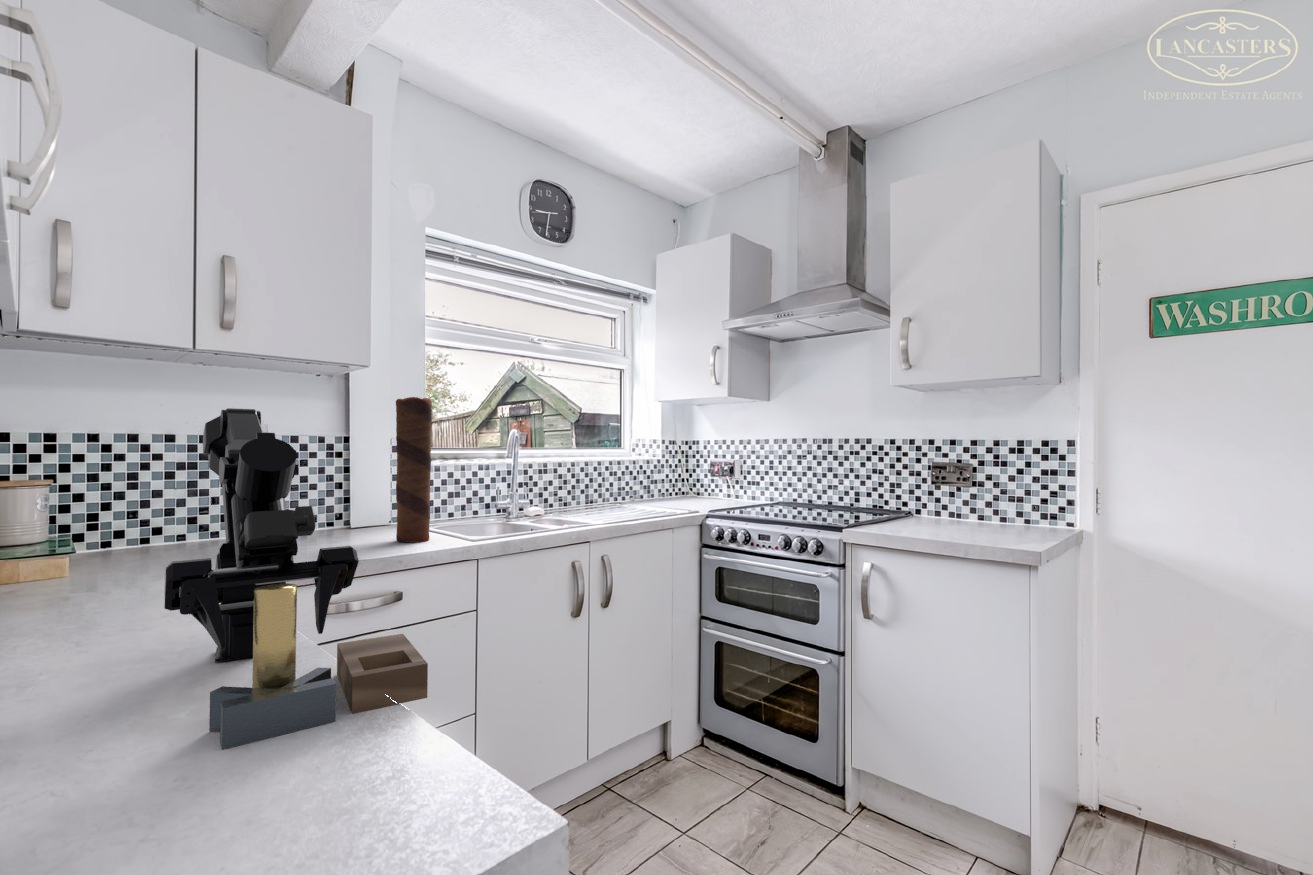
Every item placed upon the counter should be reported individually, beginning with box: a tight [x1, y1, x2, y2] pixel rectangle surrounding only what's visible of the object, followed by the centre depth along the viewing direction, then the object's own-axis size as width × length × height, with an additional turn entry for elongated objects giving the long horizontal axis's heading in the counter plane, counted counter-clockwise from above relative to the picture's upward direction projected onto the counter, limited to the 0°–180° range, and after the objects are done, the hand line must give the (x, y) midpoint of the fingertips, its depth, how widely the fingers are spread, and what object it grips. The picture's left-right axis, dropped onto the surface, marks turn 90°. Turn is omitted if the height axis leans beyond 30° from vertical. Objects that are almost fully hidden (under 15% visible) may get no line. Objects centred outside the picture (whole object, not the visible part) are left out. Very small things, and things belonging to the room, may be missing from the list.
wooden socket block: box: [336, 633, 429, 714], centre depth 77 cm, size 14×8×4 cm, turn 33°
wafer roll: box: [395, 396, 433, 543], centre depth 196 cm, size 10×11×45 cm
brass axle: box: [251, 583, 298, 689], centre depth 68 cm, size 4×4×14 cm
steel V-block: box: [208, 667, 337, 750], centre depth 66 cm, size 7×11×4 cm, turn 129°
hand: (274, 639), depth 68 cm, fingers open, 9 cm apart
